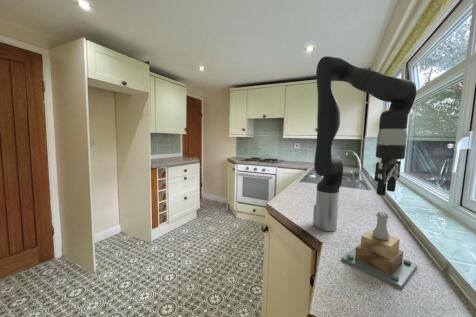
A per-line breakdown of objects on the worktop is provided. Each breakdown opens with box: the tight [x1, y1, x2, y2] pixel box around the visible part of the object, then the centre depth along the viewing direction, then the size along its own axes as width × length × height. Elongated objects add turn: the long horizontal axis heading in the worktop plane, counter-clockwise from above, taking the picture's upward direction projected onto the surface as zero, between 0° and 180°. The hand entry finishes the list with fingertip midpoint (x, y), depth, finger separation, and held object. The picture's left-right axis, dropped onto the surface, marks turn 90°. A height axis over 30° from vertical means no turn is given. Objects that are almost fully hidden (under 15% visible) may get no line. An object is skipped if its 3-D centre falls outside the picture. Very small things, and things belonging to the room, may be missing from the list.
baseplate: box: [340, 247, 418, 290], centre depth 65 cm, size 16×16×2 cm
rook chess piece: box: [372, 211, 390, 240], centre depth 64 cm, size 4×4×8 cm
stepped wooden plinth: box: [355, 229, 404, 275], centre depth 65 cm, size 10×10×8 cm
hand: (385, 192), depth 66 cm, fingers open, 8 cm apart
